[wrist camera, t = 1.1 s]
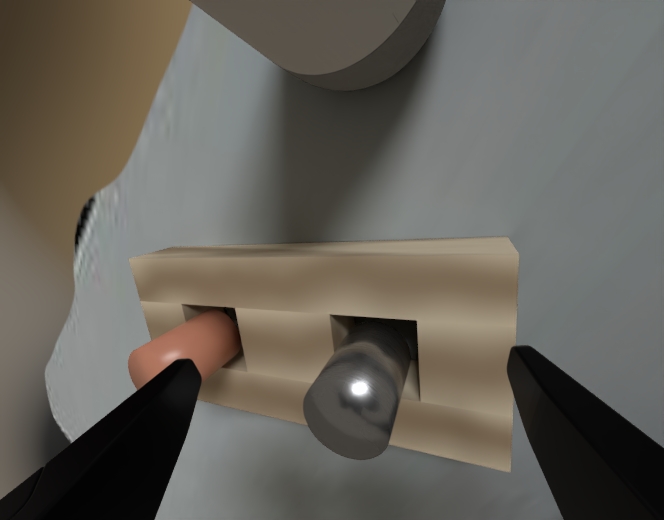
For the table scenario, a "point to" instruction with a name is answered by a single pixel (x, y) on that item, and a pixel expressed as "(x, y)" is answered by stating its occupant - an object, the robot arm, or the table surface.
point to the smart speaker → (331, 35)
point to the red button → (188, 347)
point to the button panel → (338, 319)
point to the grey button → (359, 392)
